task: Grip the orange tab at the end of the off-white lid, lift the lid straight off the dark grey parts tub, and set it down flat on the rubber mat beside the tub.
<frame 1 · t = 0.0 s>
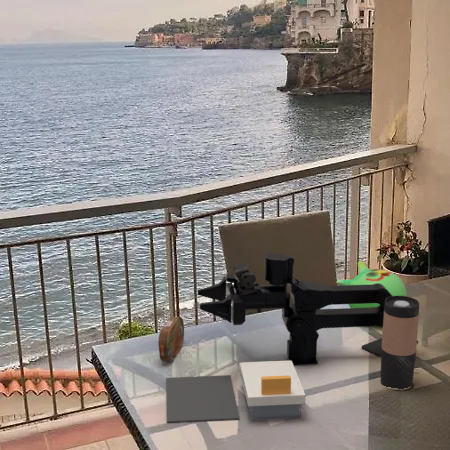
hand: (198, 299, 165), 17 cm above the table, tool horizontal, fingers open, 9 cm apart
parts tub: (270, 402, 152), on the table
mat: (200, 398, 153), on the table
toy bird: (373, 318, 197), on the table
travel mug: (396, 384, 160), on the table
phone: (389, 347, 180), on the table
lid: (270, 386, 151), point 4 cm above the table, touching parts tub
tin: (171, 354, 175), on the table
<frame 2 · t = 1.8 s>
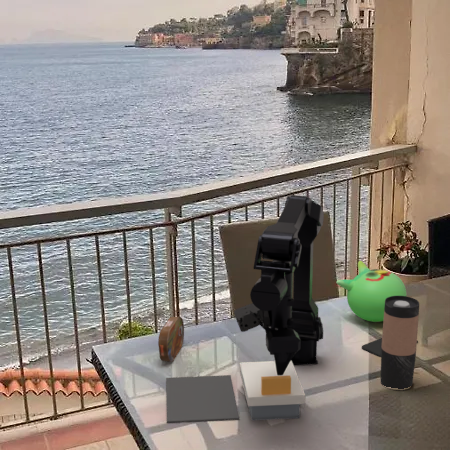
hand: (276, 364, 142), 12 cm above the table, tool pointing down, fingers open, 9 cm apart
nothing on the table moved.
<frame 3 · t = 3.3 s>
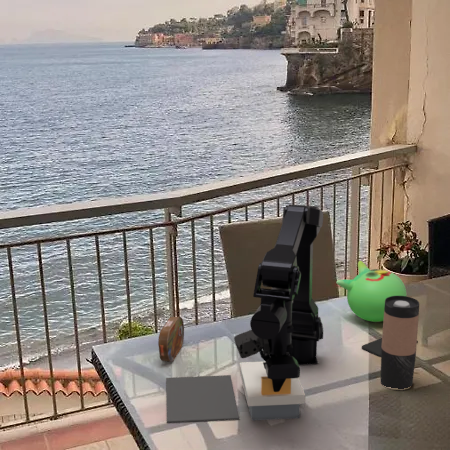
hand: (275, 389, 144), 7 cm above the table, tool pointing down, fingers closed on lid
lid: (270, 386, 151), point 4 cm above the table, touching gripper, parts tub
everything else where it was.
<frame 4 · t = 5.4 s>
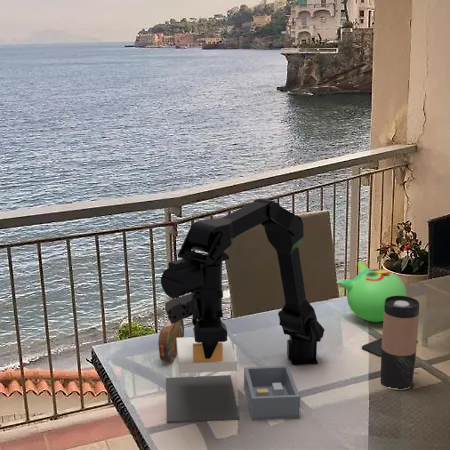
hand: (207, 356, 143), 13 cm above the table, tool pointing down, fingers closed on lid
lid: (205, 358, 150), point 10 cm above the table, touching gripper
everything else where it was.
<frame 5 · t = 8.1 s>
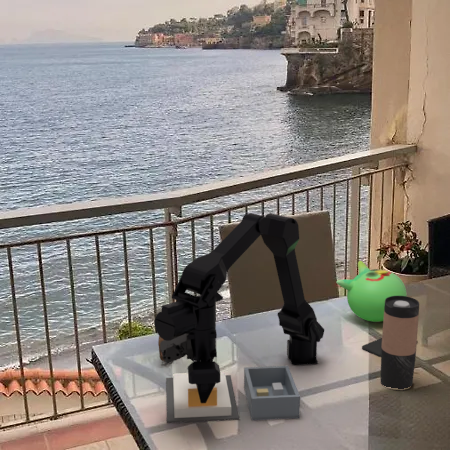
hand: (202, 394, 146), 5 cm above the table, tool pointing down, fingers open, 7 cm apart
lid: (200, 397, 153), resting on mat
everything else where it was.
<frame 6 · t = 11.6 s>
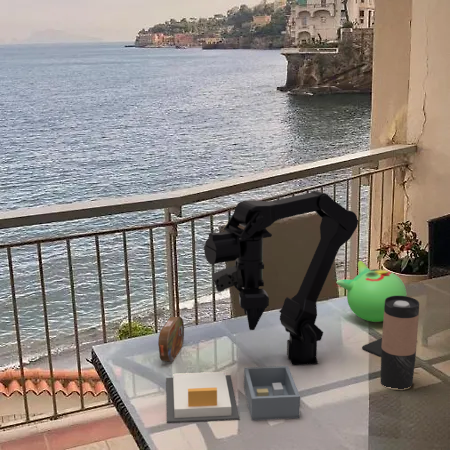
hand: (249, 321, 161), 13 cm above the table, tool pointing down, fingers open, 9 cm apart
nothing on the table moved.
at the end: lid inside the target area (0.4 cm from its centre), resting on mat; lid tilted 0°; the gripper is holding nothing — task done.
